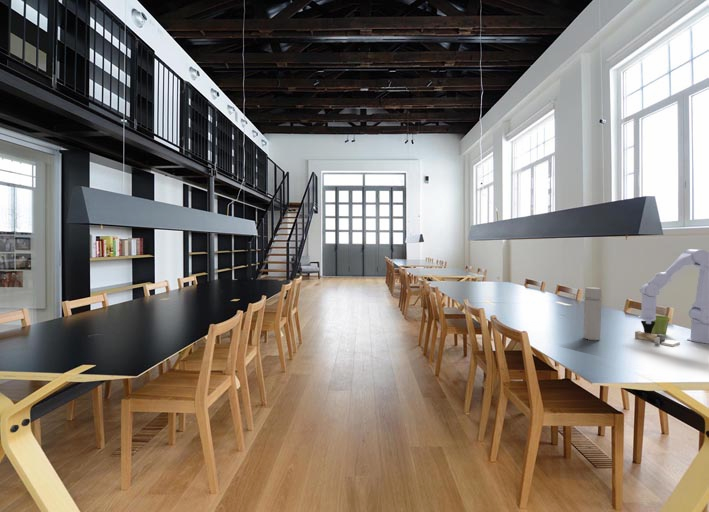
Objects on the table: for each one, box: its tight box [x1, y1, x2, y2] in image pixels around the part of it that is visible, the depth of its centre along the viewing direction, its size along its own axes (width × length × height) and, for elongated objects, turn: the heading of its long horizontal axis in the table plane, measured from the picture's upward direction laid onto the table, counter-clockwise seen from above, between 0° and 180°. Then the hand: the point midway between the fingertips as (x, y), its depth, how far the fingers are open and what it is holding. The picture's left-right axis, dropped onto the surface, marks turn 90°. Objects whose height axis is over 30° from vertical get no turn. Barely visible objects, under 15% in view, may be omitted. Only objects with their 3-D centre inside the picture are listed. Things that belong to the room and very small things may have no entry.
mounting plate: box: [661, 339, 681, 347], centre depth 181 cm, size 4×8×1 cm, turn 122°
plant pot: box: [651, 315, 671, 336], centre depth 201 cm, size 9×9×9 cm
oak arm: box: [634, 330, 666, 344], centre depth 188 cm, size 12×3×4 cm, turn 32°
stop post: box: [654, 337, 661, 346], centre depth 180 cm, size 2×2×4 cm
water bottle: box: [582, 286, 603, 341], centre depth 191 cm, size 9×8×25 cm
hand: (647, 335), depth 193 cm, fingers closed
